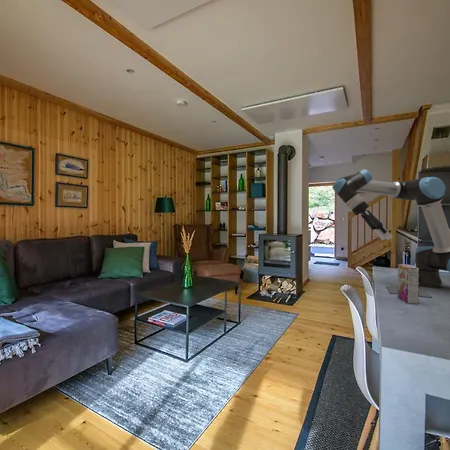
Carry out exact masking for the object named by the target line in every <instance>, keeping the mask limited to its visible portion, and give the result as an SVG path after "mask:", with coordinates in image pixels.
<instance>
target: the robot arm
mask: <svg viewBox="0 0 450 450" xmlns="http://www.w3.org/2000/svg"><path fill="white" fill-rule="evenodd" d="M332 190H333V191H334V193H335V194H336V195H337V196H338V197H339V198H340V199H341V200H342V201H343V203H345V207H346V208H347V207H348V208H349V210H351V212H352V213H353V214H354V215H355V216H359V214H360V217H361V218H362V219H363V220H364V222H365V223H366V224H367V225H368V226H369V228H370V229H371V230H373V232H374V233H375V234H376V235H377V236H378V237H379V239H380V240H381V241H384V240H386V241H389V240H391V239H392V238H394V236H393V235H392V234H391V232H389V230H387V228H385V226H384V224H383V223H382V222H381V221H380V219H378V218H377V217H376V216H375V215H374V214H373V213H372V212H371V211H370V210H368V208H369V207H370V205H369V204H368V203H367V202H366V201H365V200H364V199H363V197H362V196H361V195H360V194H359V193H365V194H374V195H382V196H388V197H390V198H391V199H398V200H405V201H416V202H415V203H416V205H417V206H418V207H420V208H421V211H422V213H423V217H424V220H425V221H426V225H427V227H428V231H429V233H430V237H431V241H432V243H433V245H432V246H430V245H429V246H417V247H416V248H415V252H414V253H415V257H414V258H415V260H414V261H415V262H414V264H415V266H414V267H416V268H419V287H426V288H442V287H443V281H442V278H441V274H440V271H445V272H448V273H450V227H449V224H448V221H447V218H446V215H445V213H444V210H443V207H442V203H441V202H442V201H443V200H444V199H443V196H445V193H446V184H445V182H444V181H443V180H442V179H440V178H439V177H436V176H426V177H421V178H416V179H409V180H405V181H396V180H395V181H392V182H390V181H382V180H381V181H380V180H375V179H373V176H372V174H371V171H369V170H367V169H366V168H363V169H361V170H359V171H358V172H356V173H353V174H350V175H347V176H341V177H339V178H337V179H336V180H335V181H334V184H333V185H332Z"/></svg>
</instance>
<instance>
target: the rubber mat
mask: <svg viewBox="0 0 450 450" xmlns="http://www.w3.org/2000/svg"><path fill="white" fill-rule="evenodd" d="M385 287H386V289H387V292H388V293H389V294H390V295H398V286H385ZM419 297H420V298H427V299H433V296H432V295H431V294H429V293H428V292H427V291H426V289H419ZM419 297H418V298H419Z"/></svg>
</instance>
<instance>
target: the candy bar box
mask: <svg viewBox="0 0 450 450" xmlns="http://www.w3.org/2000/svg"><path fill="white" fill-rule="evenodd" d="M397 287H398V294H397V298H399V299H400V300H402V301H403V302H405V303H406V304H409V305H410V304H411V305H412V304H415V305H419V290H420V286H419V268H416V267H415V266H413V265H411V264H405V263H404V264H402V263H401V264H399V263H398V265H397Z"/></svg>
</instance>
